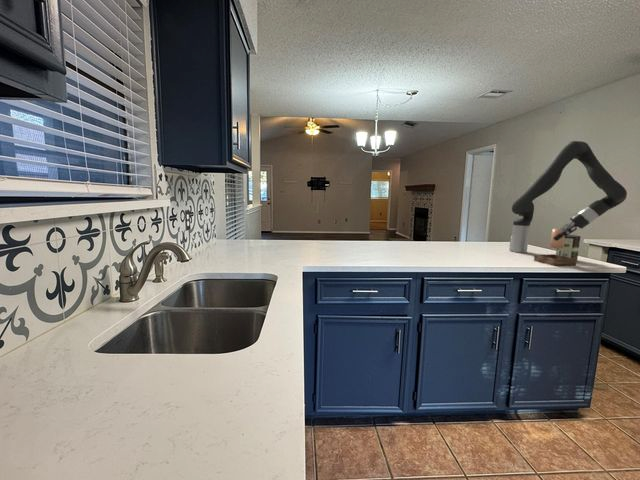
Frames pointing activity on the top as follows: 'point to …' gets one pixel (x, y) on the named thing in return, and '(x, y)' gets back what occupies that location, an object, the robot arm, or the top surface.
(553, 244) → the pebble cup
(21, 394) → the top surface
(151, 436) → the top surface
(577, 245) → the coffee can
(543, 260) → the walnut tray
